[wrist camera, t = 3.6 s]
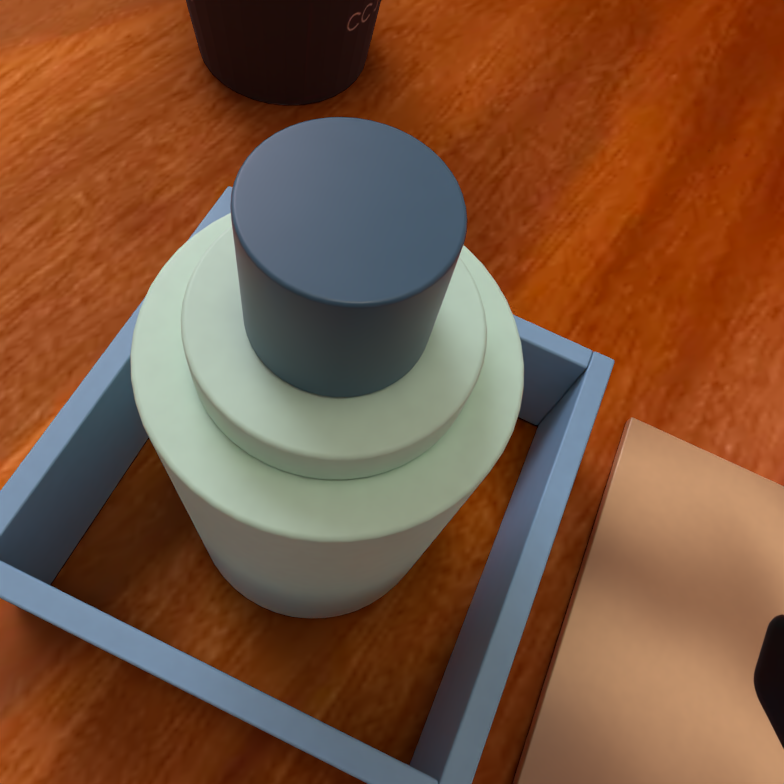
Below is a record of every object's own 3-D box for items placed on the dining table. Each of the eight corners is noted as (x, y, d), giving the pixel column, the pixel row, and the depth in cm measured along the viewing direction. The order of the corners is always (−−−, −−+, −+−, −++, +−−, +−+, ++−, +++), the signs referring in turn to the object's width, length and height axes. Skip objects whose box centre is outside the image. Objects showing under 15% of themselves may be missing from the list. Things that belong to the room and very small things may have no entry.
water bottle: (372, 661, 18) (511, 573, 7) (152, 553, 18) (-72, 294, 7) (462, 451, 21) (668, 135, 9) (269, 361, 21) (244, -46, 10)
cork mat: (939, 1007, 16) (953, 1013, 16) (509, 792, 17) (513, 793, 17) (962, 575, 21) (974, 572, 21) (626, 421, 22) (631, 416, 21)
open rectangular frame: (421, 804, 17) (457, 829, 13) (14, 598, 17) (-59, 567, 14) (561, 419, 21) (616, 360, 18) (238, 270, 22) (228, 184, 19)
